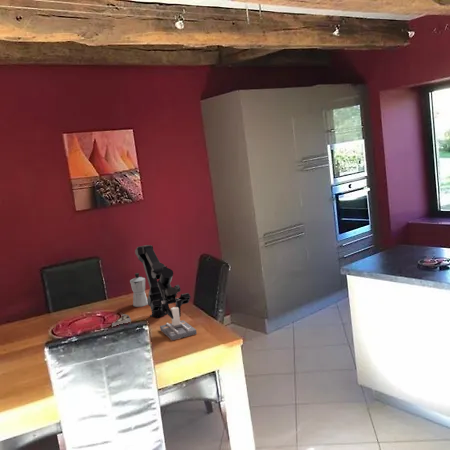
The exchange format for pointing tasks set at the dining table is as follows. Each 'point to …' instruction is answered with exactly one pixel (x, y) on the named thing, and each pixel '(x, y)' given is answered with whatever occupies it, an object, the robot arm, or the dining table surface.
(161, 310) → the robot arm
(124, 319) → the food container
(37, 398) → the dining table surface
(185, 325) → the grey slider track base
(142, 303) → the coffee maker
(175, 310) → the fader
